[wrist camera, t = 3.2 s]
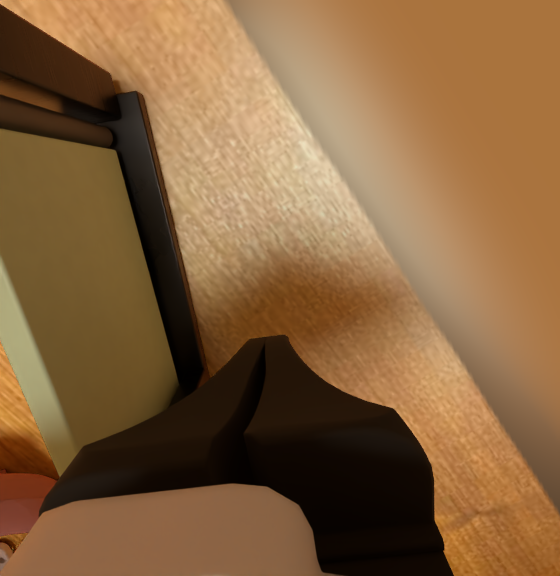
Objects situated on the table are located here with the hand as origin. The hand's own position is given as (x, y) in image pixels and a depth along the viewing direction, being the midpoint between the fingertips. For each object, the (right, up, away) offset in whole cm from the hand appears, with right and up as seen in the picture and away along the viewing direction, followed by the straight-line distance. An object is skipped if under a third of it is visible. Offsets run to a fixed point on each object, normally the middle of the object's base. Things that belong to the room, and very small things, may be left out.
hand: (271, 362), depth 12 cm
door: (-6, +3, +3) cm, 7 cm away
